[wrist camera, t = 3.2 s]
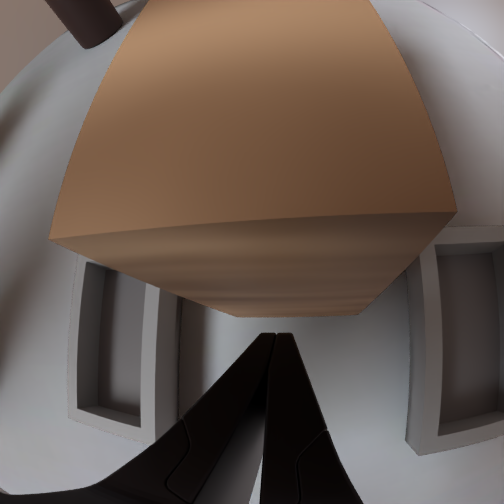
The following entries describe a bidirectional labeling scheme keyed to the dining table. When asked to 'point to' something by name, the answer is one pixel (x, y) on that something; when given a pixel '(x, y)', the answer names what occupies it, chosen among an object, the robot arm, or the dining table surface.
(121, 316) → the grey rectangular tray
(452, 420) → the tray
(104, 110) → the walnut block
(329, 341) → the dining table surface
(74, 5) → the bottle
